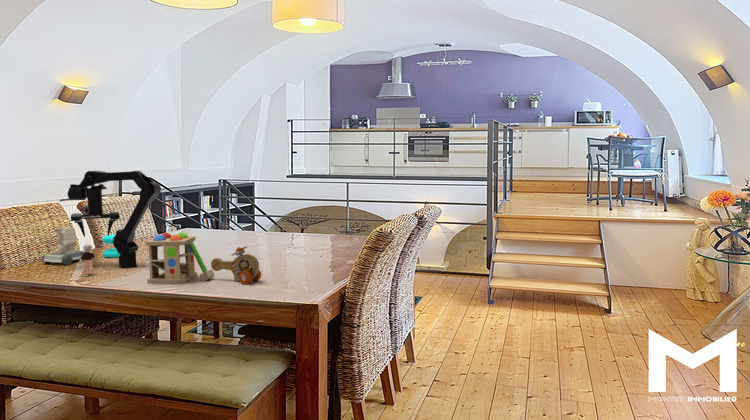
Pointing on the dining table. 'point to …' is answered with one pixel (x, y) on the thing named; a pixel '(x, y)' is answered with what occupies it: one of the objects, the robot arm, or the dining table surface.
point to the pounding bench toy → (175, 259)
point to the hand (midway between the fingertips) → (96, 236)
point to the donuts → (112, 251)
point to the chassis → (62, 257)
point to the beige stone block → (66, 240)
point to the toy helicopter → (240, 266)
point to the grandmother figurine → (87, 260)
